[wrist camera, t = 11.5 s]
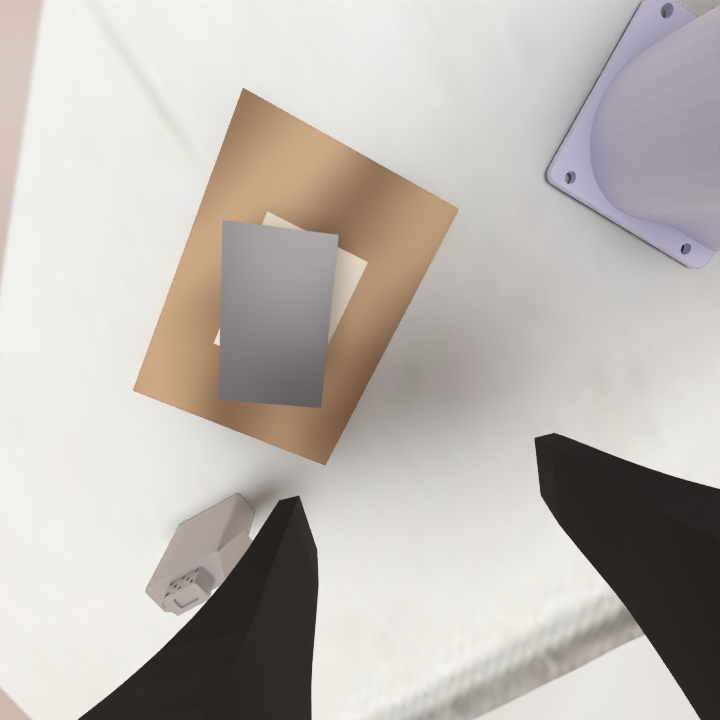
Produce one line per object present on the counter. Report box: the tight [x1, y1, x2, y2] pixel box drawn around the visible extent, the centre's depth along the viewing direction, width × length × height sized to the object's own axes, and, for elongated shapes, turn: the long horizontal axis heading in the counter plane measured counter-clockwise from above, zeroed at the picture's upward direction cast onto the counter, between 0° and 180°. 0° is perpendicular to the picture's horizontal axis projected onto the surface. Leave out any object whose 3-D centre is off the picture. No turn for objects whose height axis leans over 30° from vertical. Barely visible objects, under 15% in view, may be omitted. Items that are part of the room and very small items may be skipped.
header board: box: [133, 88, 459, 465], centre depth 18 cm, size 10×14×3 cm
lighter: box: [146, 494, 255, 616], centre depth 19 cm, size 7×2×8 cm, turn 120°
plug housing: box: [218, 220, 339, 408], centre depth 16 cm, size 4×6×5 cm, turn 173°
